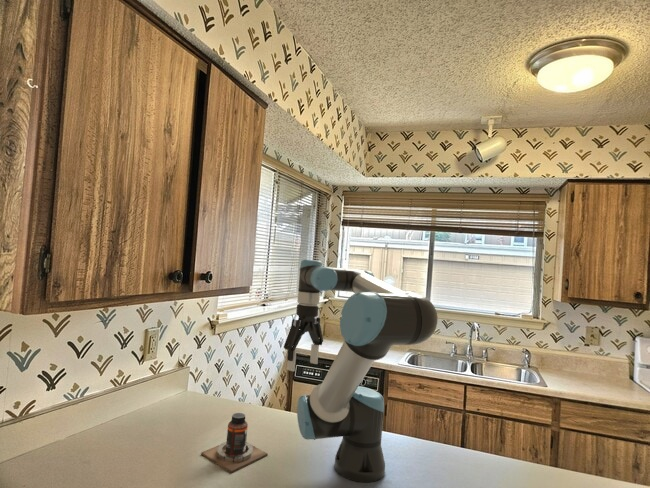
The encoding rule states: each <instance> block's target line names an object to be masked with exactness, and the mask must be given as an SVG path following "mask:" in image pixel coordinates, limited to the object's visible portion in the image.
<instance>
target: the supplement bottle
mask: <svg viewBox="0 0 650 488" xmlns="http://www.w3.org/2000/svg"><path fill="white" fill-rule="evenodd" d="M248 426H249V425H248V421H246V414H245V413H243V412H236V413H233V414H232V415H231V420H230V421H229V422H228V424H227V432H226V441H225V442H226V454H227V455H232V456H237V455H242V454H244V453H245V450H246V442H247V436H248V428H249V427H248Z"/></svg>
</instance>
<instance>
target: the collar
mask: <svg viewBox="0 0 650 488" xmlns="http://www.w3.org/2000/svg"><path fill="white" fill-rule="evenodd" d="M226 442H227V441H225V442H223V443H221V444H218V445H219V447H218V448H217V456H218V458H220V459H221V460H223V461H226V462H242V461H245V460H247V459H249V458H251V456H252V454H253V447H252V445H253V444H251V443H249V442H247V441H246V449H247V453H244V454H242V455H237V456H232V455H227V454H225V453H224V452H223V450H224V449H226Z"/></svg>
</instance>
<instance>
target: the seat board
mask: <svg viewBox="0 0 650 488" xmlns="http://www.w3.org/2000/svg"><path fill="white" fill-rule="evenodd" d="M219 445H220V444H218V445H216V446H214V447H211V448H209V449H207V450H204V451H201V452H200V454H201V456H203V457H204V458H206V459H208V460H210V461H211V462H212V463H214V464H216V465H218V466H219V467H220V468H223V469H224V470H225V471H227V472H229V473H230V474H233V473H235V472H238V471H239V470H241V469H243V468H245V467H247V466H249V465H251V464H253V463H255V462H257V461H260V460H261V459H263V458H265V457H268V452H266V451H263V450H262V449H261V448H258V447H257V446H254V445H253V444H251V445H252V447H253V454H252V456H251V458H249V459H247V460H245V461H242V462H226V461H223V460H221V459H220V458H218V456H217V448H218V447H219ZM223 452H224V453H225V454H226V449H224V450H223ZM245 453H247V449H246V450H245Z"/></svg>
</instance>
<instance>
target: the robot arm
mask: <svg viewBox="0 0 650 488" xmlns="http://www.w3.org/2000/svg"><path fill="white" fill-rule="evenodd" d="M299 266H300V267H299V278H298V291H297V305H296V312H295V315H296V316H298V319H296V318H295V319H294V318H293V319H292V320H291V326H290V329H289V331H288V334H287V337H286V339H285V341H284V344H283V349H285V350H287V355H286V356H287V357H286V359H287V364H286V370H287V371H290V372H295V371H296V359H297V350H296V348H297V347H298V345H299V342H300V341H301V338H302V337H303V335H305V333H308V334H309V337H310V339H311V341H312V344H311V346H310V359H309V363H310V364H312V365H313V364H314V365H318V361H319V360H318V359H319V349H320V346H322V345H323V342H324V339H323V338H324V337H323V332H322V327H321V318H320V317H318V316H319V306H318V305H319V304H320V296H321V295H320V294H321V292H327V291H334V292H351V293H354V294H352V295H350V296H349V297H348V299H346V300H345V303H344V305H343V307H342V310H341V311H340V312H341V313H340V314H341V317H340V318H339V329H340V333H341V336H342V339H343V343H342V345H341V347H340V349H339V351H338V352H337V354H336V356H335V358H334V360H333V362H332V363H331V365H330V367H329V369H328V372H327V373H326V375H325V377H324V379H323V381H322V383H319V384H317V385H316V386H315V387H314V388H313V389H312V390H311V392H310V394H303V395H300V396H299V397H298V399H297V403H296V404H297V405H296V411H297V412H296V414H297V415H296V416H297V423H298V424H297V426H298V429H299V433H300V435H301V437H302V438H303V439H304V440H307V441H308V440H314V441H316V440H319V439H320V440H322V439H330V438H339V437H340V438H341V437H342V439H341V442H340V445H338V446H339V447H338V448H337V451H336V454H335V455H334V468H335V470H336V472H337V473H339V474H338V475H340V476H343V477H344V478H345V479H349V480H350V481H354V482H359V483H371V482H376V481H380V480H381V479H382V478H384V476H385V474H386V461H385V457H384V453H383V448H382V447H383V446H382V436H383V426H384V425H383V424H384V423H383V421H384V413H385V400H384V397H383V395H382V393H380V392H378V391H376V390H374V389H372V388H369V387H366V386H361V385H360V384H362V381H363V380H364V378H365V377H366V375H367V373H368V372H369V370H370V369H371V367H372V366H373V363H374V362H375V361H378V360H382V359H383V358H384V357H385V356H387V354H388V352H389V351H390V350H391V348H392V347H393V346H403V345H404V346H408V345H409V346H411V345H412V346H415V345H419V344H421V343H423V342H425V341H427V340H428V339H430V338H431V337H432V335H433V334H434V332H435V331H436V329H437V326H438V320H439V319H438V312H437V309H436V308H435V305H434V304H433V303H432V302H431V301H430V299H428V298H426V297H425V296H423V295H420V294H418V293H417V292H414V291H403V290H401V289H400V288H397V287H394V286H393V285H391V284H389V283H386V282H384V281H382V280H380V279H378V278H376V277H375V275H374V273H373V272H372V271H370V270H367V269H366V270H365V269H363V268H362V269H360V268H359V269H356V268H355V269H354V268H341V267H330V266H324V265H323V263H322V261H321V260H318V259H317V260H316V259H302V260H301V262H300V265H299Z"/></svg>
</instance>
